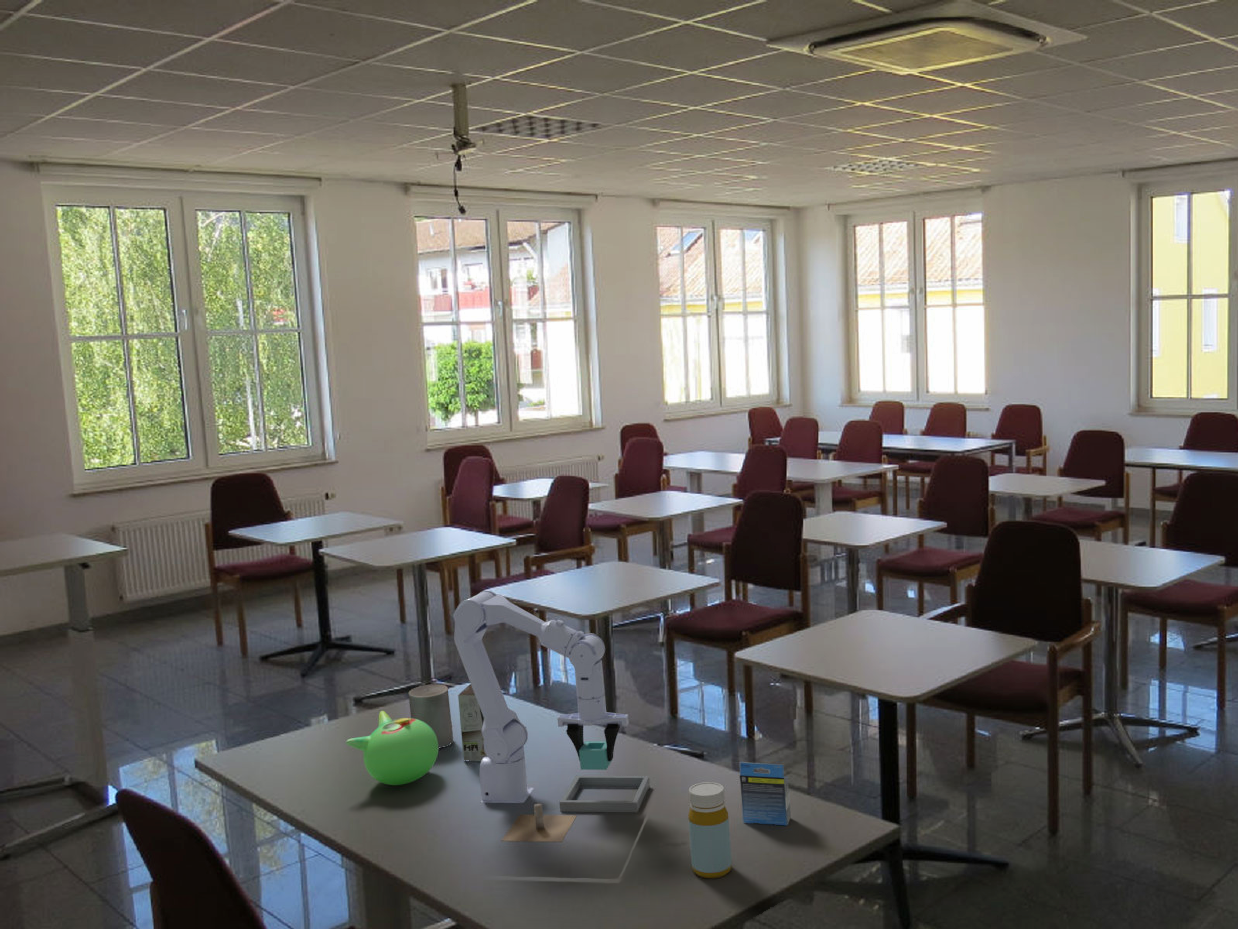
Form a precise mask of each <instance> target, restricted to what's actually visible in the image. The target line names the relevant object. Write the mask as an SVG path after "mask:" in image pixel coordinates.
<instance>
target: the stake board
mask: <svg viewBox="0 0 1238 929" xmlns="http://www.w3.org/2000/svg"><path fill="white" fill-rule="evenodd" d="M533 811H534V814H519V815H518V816H517V818H516V819H515V821H514V822H513V823H512V825H511V826H510V828H509V829H508V831H507V832H506V833H505V835H504V837H503V838H502V839H501V842H535V843H536V842H540V843H541V842H543V843H545V842H546V843H549V842H550V843H562V842H563V840H564V839H565V837H566V835H567V834H568V831H569V830H570V828H571V826H572V825H573V823H574V821H575V820H576V818H577V817H578V816H577V815H570V814H569V815H564V814H563V815H562V814H560V815H559V814H556V815H555V814H544V812H543V811H544V810H543V804H542V803H536V804H534V805H533Z"/></svg>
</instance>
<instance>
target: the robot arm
mask: <svg viewBox="0 0 1238 929" xmlns="http://www.w3.org/2000/svg"><path fill="white" fill-rule="evenodd" d="M452 617H453V620H454V632H453V639H454V644H455V646H456V649H457V652H458V654H459V657H460V659H461V662H462V665H463V667H464V670H465V673H466V674H467V678H468V680H469V683H470V684H471V686H472V688H473V691H474V693H475V696H476V699H477V701H478V704H479V706H480V709H481V712H482V714H483V717H484V722H483V727H482V735H483V738H484V751H485V753H486V755H487V756H488V757H484V758H483V759H482V761H480V764H479V781H480V782H479V783H480V793H481V795H480V796H481V801H480V803H485V804H486V803H489V804H490V803H493V804H495V803H498V804H499V803H504V804H505V803H506V804H512V803H513V804H523V803H525V802H526V800H527V799H528V798H529V796H530V795H531V793H532V792H533V790H534V787H528V780H527V768H526V756H525V745H526V744H527V741H528V737H529V731H528V729H527V727H526V725H525V724H524V723H523V722H522V721H521V720H520V719H519V717H518V714H517V713H516V712H515V711H514V710H513V709H510V707H508V704H507V702H506V700H505V696H504V694H503V692H502V689H501V686H500V684H499V681H498V678H497V676H496V673H495V670H494V668H493V665H492V663H491V660H490V658H489V656H488V653H487V650H486V647H485V645H484V642H483V637H484V636H485V633H486V631H487V629H488V628H489V626H493V625H498V624H502V623H504V624H507V625H509V626H512V627H513V628H516V629H519V630H521V631H524V632H526V633H527V634H530V635H533V636H535V637H537V639H538V641H539V643H540V645H541V646H543V647H545V648H546V649H549V650H551V651H553V652H555V653H557V654H558V655H561V656H563V657H565V658H567V659H568V660H569V662H570V664H571V665H572V666H573V668H574V676H575V687H576V700H577V713H568V714H566V713H565V714H559V715H558V716H557V727H561V728H562V727H564V726H567V727H566V730H565V731H566V735H567V737H568V738H569V739H570V741H571V742H572V744H573V747H574V748H575V751H576V753H577V756H578V760H579V762H580V756H579V750H580V749H581V747H582V746H583V744H584V743H585V741H584V726H586V727H587V726H588V727H589V726H606V727H605V729H603V733H604V738H605V741H606V744H607V758H608V761H611V762H612V761H613V758H614V751H615V745H616V740H617V737H618V734H619V732H620V731H619V730H620V728H621V726H622V727H627V726H628V725H629V724H630V721H629V714H628V713H627V714H626V713H615V712H607V706H606V705H607V704H606V692H605V681H604V670H603V668H604V667H603V661H602V658H603V657H604V654H605V652H606V646H605V643H604V641H603V639H602V638H601V637H599V636H598V635H597V634H596V633H592V632H591V633H585V632H584V631H582V630H579V631H578V630H576V629H574V628H572V627H570V626H567V625H566V624H564V623H565V621H563V620H561V619H557V620H555V619H550V620H548V621H544V620H542V619H541V618H539V617H537V616H536V615H534V614H532V613H530V612H529V611H526V610H524V609H523V608H521V607H520V606H518V605H516V604H514V603H512V602H511V601H510V600H508V599H507V598H506V597H505V596H503V595H502V594H498V593H496V592H494V591H492V590H482V591H480V592H479V593H477V594H476V595H474V596H471V597H470V598H467V599H464V600H462V601H461V602H460V603H459V604H458V605H457V607H456V609H455V611H454V613H453V614H452Z"/></svg>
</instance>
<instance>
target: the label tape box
mask: <svg viewBox="0 0 1238 929" xmlns="http://www.w3.org/2000/svg"><path fill="white" fill-rule="evenodd" d="M760 769H762V770H764V771H768V772H758V771H757V772H756V771H755V770H760ZM784 771H785V770H784V764H773V763H762V762H761V763H757V762H756V763H755V762H743V761H739V784H740V795H741V796H740V797H741V799H740V800H741V809H742V810H741V811H742V822H743V823H744V822H745V823H744V824H753V823H759V824H760V825H773V824H774V825H775V826H776V825H777V826H778V825H779V826H789V823H790V820H791V818H792V817H791V803H790V790H789V778H788V777H786V776H784V775H785V773H784ZM759 824H758V825H759Z"/></svg>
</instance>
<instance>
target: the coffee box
mask: <svg viewBox="0 0 1238 929" xmlns="http://www.w3.org/2000/svg"><path fill="white" fill-rule="evenodd" d="M457 696H458V697H457V699H458V710H459V722H460V723H459V725H460V732H461V744H462V746H461V747H462V756H463V761H464V760H465V761H464V762H467V761H466V760H469V761H468V762H481V761H482V759H483V758H484V757H488V756H487V755H486V753H485V751H484V738H483V735H482V727H483V722H484V717H483V714H482V712H481V709H480V706H479V704H478V701H477V699H476V696H475V693H474V691H473V688H472V686H471V683H470V684H469V685H467V686H466V687H465V688H464V689H462V691H461V692H460V693H458V695H457Z"/></svg>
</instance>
